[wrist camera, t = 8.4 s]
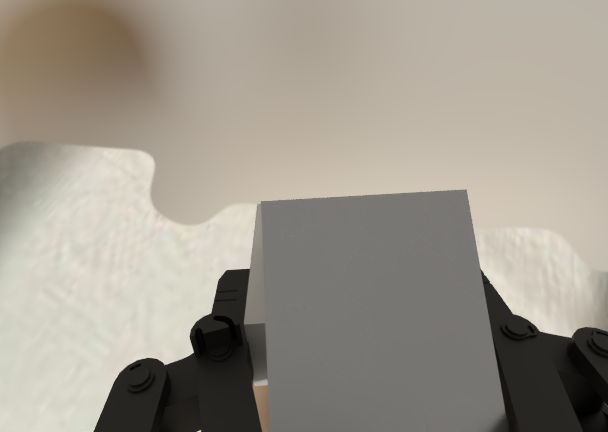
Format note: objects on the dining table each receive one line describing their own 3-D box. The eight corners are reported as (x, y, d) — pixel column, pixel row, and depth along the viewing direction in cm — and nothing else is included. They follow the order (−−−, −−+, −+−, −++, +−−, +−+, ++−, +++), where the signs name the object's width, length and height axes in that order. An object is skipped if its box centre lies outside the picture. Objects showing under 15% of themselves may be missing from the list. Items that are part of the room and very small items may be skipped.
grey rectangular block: (393, 375, 17) (515, 468, 7) (287, 383, 17) (271, 486, 7) (379, 249, 19) (466, 189, 9) (281, 255, 18) (261, 201, 9)
